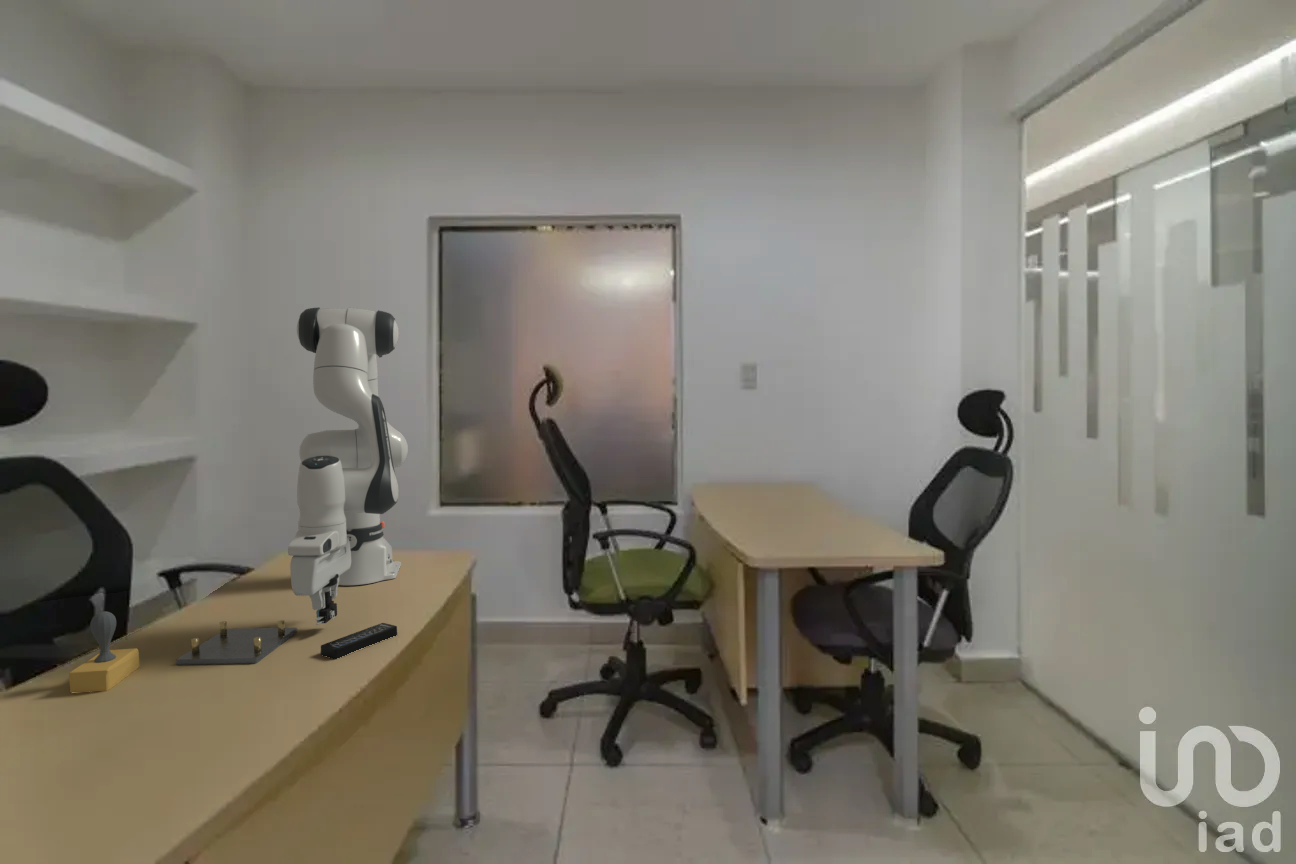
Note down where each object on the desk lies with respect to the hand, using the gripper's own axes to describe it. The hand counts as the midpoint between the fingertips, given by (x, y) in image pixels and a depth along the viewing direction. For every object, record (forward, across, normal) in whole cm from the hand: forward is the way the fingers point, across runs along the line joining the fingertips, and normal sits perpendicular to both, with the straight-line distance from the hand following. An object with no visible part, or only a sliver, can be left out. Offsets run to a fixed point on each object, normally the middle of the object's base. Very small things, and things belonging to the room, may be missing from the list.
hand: (325, 603), depth 142 cm
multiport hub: (+6, +8, +10) cm, 14 cm away
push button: (+4, 0, 0) cm, 4 cm away
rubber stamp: (+6, +23, -27) cm, 36 cm away
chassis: (+6, +9, -12) cm, 16 cm away
